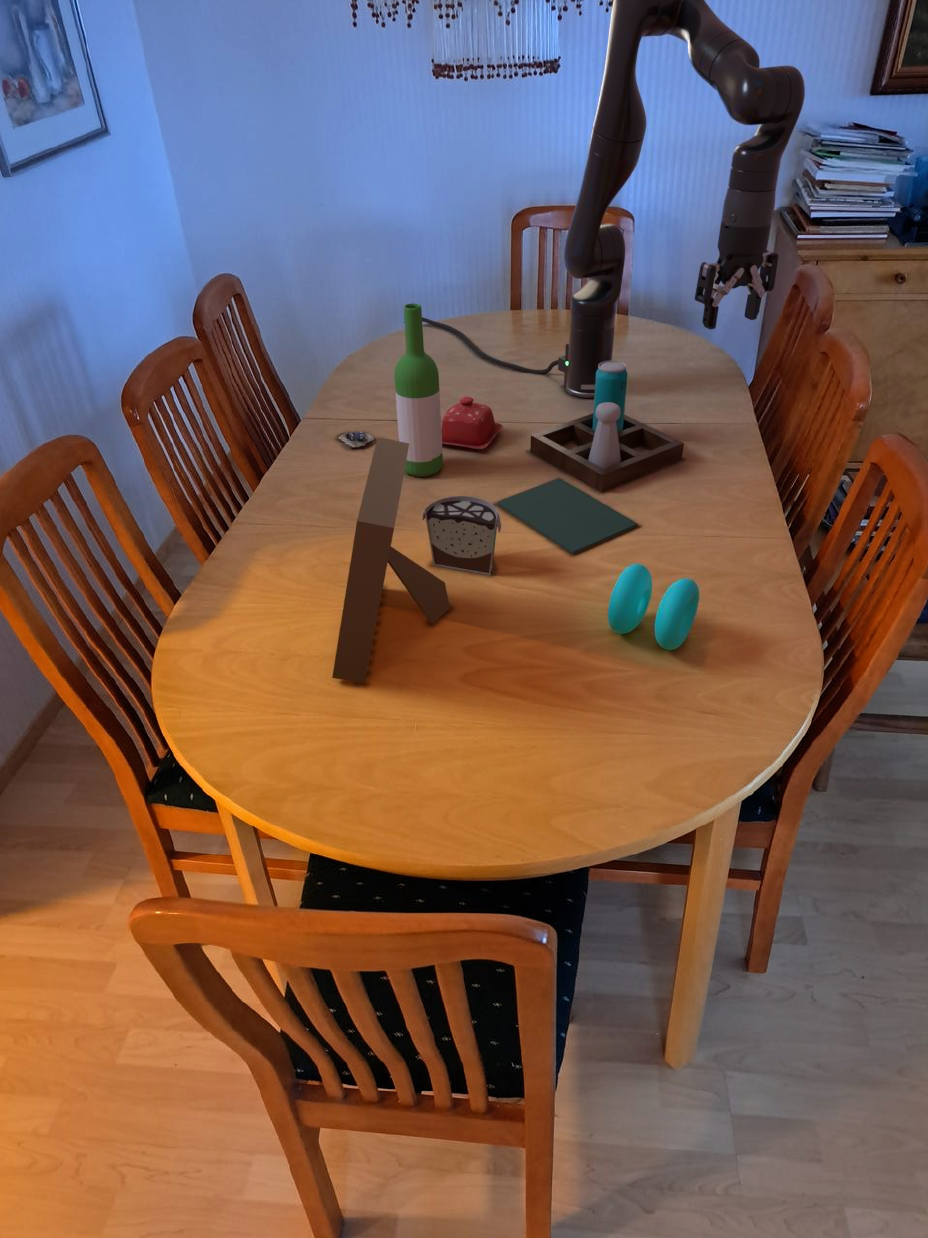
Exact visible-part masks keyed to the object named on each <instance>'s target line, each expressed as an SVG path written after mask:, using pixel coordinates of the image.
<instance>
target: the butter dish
mask: <svg viewBox="0 0 928 1238" xmlns="http://www.w3.org/2000/svg"><path fill="white" fill-rule="evenodd" d="M495 421H496V420H495V417H494V413H493V410H492V408H491V407H490V406H488V405H487V404H483V403H479V402H474V398H473V397H471V396H462V397H461V398H460V399H459V402H457V403H454V404H453V405H452V406H451V407H449V408H448V409H447V410H446V412H445V413H444V415H443V417H442V419H441V432H442V445H448V446H454V447H455V446H456V447H460V448H461V447H463V448H469V449H473V450H474V449H475V450H484V449H486V448H487V447H488V446H489V445H490V444H491V442H492V441H494V439H495V437H496V436H497V435H498V434H499V433H500V432H501V430H502V428H503V424H502V423H498V422H495Z"/></svg>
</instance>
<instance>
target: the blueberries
mask: <svg viewBox="0 0 928 1238" xmlns="http://www.w3.org/2000/svg"><path fill="white" fill-rule="evenodd" d="M338 439H339V440H340V441H342V442H343V443H344V444H346V446H347V447H348V448H360V447H361V446H362V447H363V446H366V445H367V443H368V444H369V443H370V442H372V441H374V440H376V438H374V436H373V435H372V434H370V433H367V432H363V431H357V430H356V431H350V432H347V433H343V434H342V435H340V436H338Z"/></svg>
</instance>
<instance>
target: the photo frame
mask: <svg viewBox="0 0 928 1238" xmlns="http://www.w3.org/2000/svg"><path fill="white" fill-rule="evenodd" d="M376 437H377V438H376V442H375V445H374V449H373V454H372V458H371V462H370V465H369V471H368V474H367V478H366V483H365V486H364V492H363V493H362V494H363V495H362V499H361V502H360V507H359V511H358V515H357V518H356V524H355V525H356V526H355V531H354V538H353V543H352V548H351V549H352V550H351V557H350V562H349V569H348V575H347V582H346V588H345V594H344V600H343V606H342V613H341V618H340V619H341V620H340V626H339V631H338V637H337V645H336V651H335V657H334V663H333V671H332V677H331V678H332V679H336V680H341V681H348V682H353V683H359V684H366V679H367V673H368V670H369V664H370V657H371V652H372V647H373V642H374V637H375V632H376V626H377V621H378V616H379V611H380V605H381V602H382V601H381V600H382V595H383V589H384V585H385V579H386V573H387V568H388V565H389V567H390V568H391V569H392V572H394V574H395V575H396V576H397V578H398V580H399V581H400V582H401V583H402V585H403V586H404V588H405V589H406V591H407V592H408V594H409V595H410V596H411V598H412V599H413V600H414V602H415V604H416V605H417V606H418V608H419V609H420V611H421V612H422V614H423V615H424V616H425V618H426V619H427V621H428V622H429V623H430V624H434V623H435V622H437V620H438V619H439V618H440V617H442V616H443V615H444V614H445V613H446V612H448V610H450V609H451V606H450V605H451V604H450V601H449V596H448V591H447V586H446V585H447V584H446V582H445V581H444V580H442V579H441V578H439V577H438V576H437V575H434V574H433V573H431V572H430V571H428V569H426V568H424V567H423V566H422V565H420V564H418V563H417V562H415V561H414V560H413V559H411V558H409V557H408V556H406V555H405V554H403V553H402V552H401V551H399V550H397V549H396V548H394V547H393V546H392V541H393V537H394V531H395V526H396V521H397V515H398V509H399V504H400V497H401V492H402V487H403V481H404V475H405V465H406V460H407V454H408V448H409V443H405V442H400V441H399V440H395V439H390V438H384V437H380V436H376Z"/></svg>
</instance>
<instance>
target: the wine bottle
mask: <svg viewBox="0 0 928 1238" xmlns="http://www.w3.org/2000/svg"><path fill="white" fill-rule="evenodd" d="M422 312H423V311H422V305H421V304H419V303H416V302H415V303H407V304H405V305H404V306H403V319H404V321H403V322H405V323H404V334H405V335H404V336H405V337H404V338H405V353H404V354H403V355H402V356H401V357H400V358H399V359H398V361H397V362H396V366H395V367H394V374H393V375H394V376H393V377H394V386H395V387H394V388H395V389H394V390H395V391H394V393H395V405H396V406H395V407H396V417H397V419H396V420H397V432H398V433H397V434H398V441H400V442H405V443H409V448H408V454H407V460H406V465H405V471H404V473H406V474H407V475H409V476H413V477H417V478H418V477H419V478H424V477H430V476H433V475H435V474H437V473H438V472H439V471H440V470H441V469H442V467H443V463H444V461H443V460H444V458H443V444H442V432H441V428H442V417H441V416H442V415H441V412H442V411H441V391H440V389H441V388H440V374H439V368H438V365H437V363H436V361H435V360H434V359H433V358H432V356H431V355H429V354H428V353H426V351H425V345H424V330H423V321H422V317H423V314H422Z"/></svg>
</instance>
